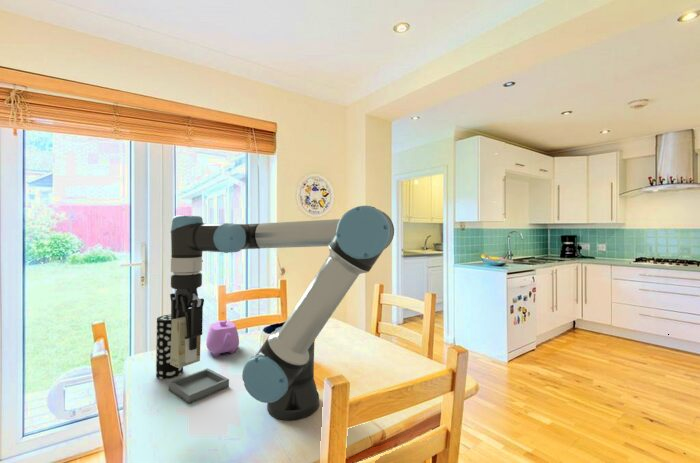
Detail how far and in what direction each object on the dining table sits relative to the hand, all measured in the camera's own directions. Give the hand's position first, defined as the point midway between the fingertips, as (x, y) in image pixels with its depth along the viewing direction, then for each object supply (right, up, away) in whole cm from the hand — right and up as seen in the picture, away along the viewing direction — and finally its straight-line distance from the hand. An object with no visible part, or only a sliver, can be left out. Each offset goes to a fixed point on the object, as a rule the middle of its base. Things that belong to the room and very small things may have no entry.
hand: (185, 358), depth 87 cm
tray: (-4, -16, +17) cm, 24 cm away
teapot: (-9, -16, +47) cm, 51 cm away
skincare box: (0, -1, 0) cm, 1 cm away
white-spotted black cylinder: (-19, -16, +27) cm, 37 cm away
